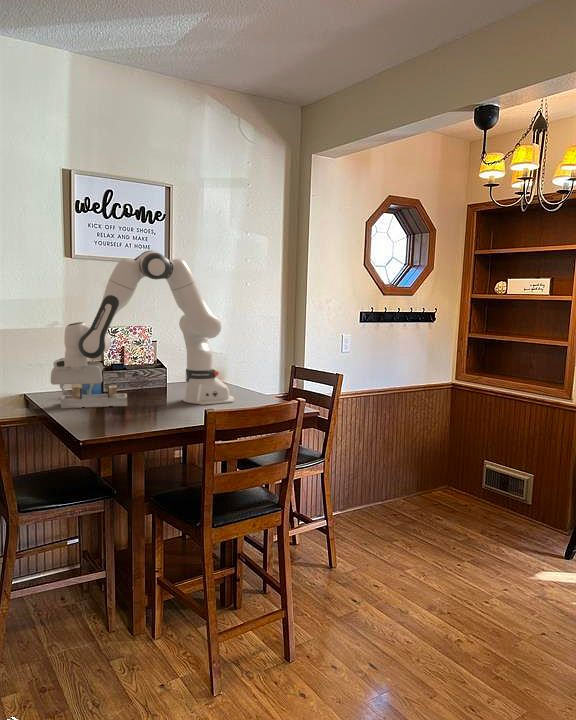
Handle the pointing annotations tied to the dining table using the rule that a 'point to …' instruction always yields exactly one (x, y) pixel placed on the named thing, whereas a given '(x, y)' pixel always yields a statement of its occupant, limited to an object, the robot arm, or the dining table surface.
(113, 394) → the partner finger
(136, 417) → the dining table surface
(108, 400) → the rail
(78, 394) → the finger block
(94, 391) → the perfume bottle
